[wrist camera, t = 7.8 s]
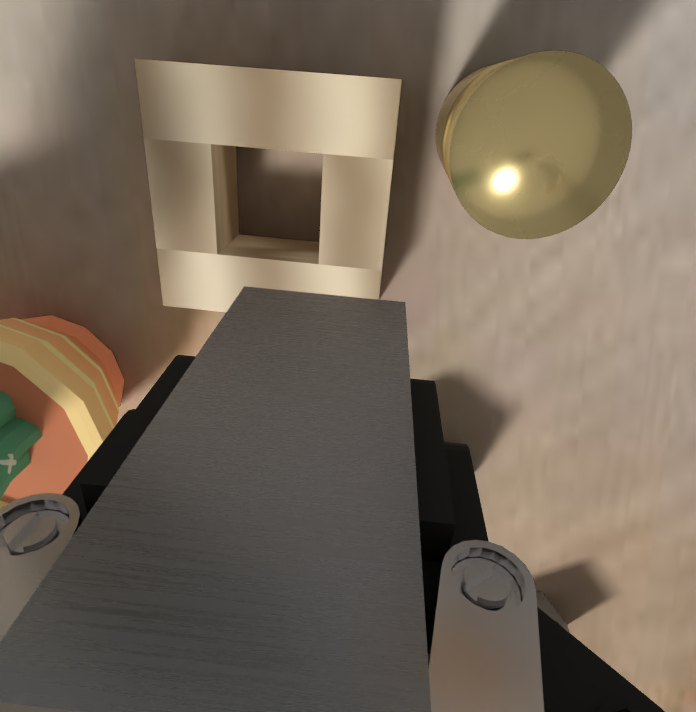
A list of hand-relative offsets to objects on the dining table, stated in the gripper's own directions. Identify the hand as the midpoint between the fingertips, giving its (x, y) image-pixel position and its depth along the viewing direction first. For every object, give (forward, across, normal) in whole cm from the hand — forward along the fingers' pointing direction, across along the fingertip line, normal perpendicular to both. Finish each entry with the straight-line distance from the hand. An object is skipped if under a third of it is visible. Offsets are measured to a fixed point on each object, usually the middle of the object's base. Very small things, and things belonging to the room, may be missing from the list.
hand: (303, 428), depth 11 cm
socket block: (+20, +4, -1) cm, 21 cm away
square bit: (+3, 0, 0) cm, 3 cm away
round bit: (+20, -7, -5) cm, 22 cm away
